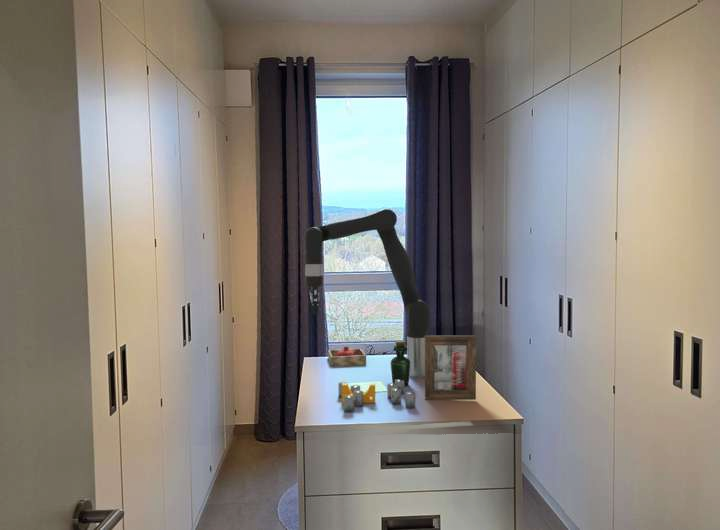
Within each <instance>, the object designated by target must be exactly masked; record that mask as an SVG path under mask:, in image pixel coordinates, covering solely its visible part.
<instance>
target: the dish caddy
mask: <svg viewBox="0 0 720 530" xmlns="http://www.w3.org/2000/svg"><path fill="white" fill-rule="evenodd" d="M340 350H341V349H328V350H327V351H328V352H327V354H328V355H327V356H328V357H327V359H328V361H329V363H330V366H331V367H341V366H344V365H347V366H365V365H364V364H366V365H367V355H366V353H365V352H364V351H363V349H362V348H350V350H354V351H355V353H356V356H337V353H338V352H339V351H340ZM342 350H344V348H343V349H342Z"/></svg>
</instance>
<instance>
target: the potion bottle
mask: <svg viewBox="0 0 720 530" xmlns="http://www.w3.org/2000/svg"><path fill="white" fill-rule="evenodd" d="M405 343H406V341H405V340H400V339H399V340H395V346H394V347H393V348H392V349H393V351H395V354H396V356H395V357H393V358H392V359H391V360H390V370H391V380H392V382H391V383H395V380H396V379H403V380H404V388H405V387H407V386H409V383H410V376H409V372H410V360H409V359H408V358H407V356H405V352H407V345H406V346H405Z"/></svg>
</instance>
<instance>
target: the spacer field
mask: <svg viewBox="0 0 720 530" xmlns="http://www.w3.org/2000/svg"><path fill="white" fill-rule="evenodd" d="M343 383H348V382H346V381H341V382H338V384H337V385H338V389H337V390H338V391H337V392H338V398H341V399H342V384H343ZM386 389H387V391H386V393H387V395H386V396H387V397H386V398H387V399H389V400H391V402H390V403H391V404H392V405H393V406H395V405H396V406H398V405H401V404H402V395H404V396H405V397H404V401H405V403H404V407H405V408H407V409H409V410H410V409H411V410H412V409H416V392H414V391H406V392H405V387H404V380H403V379H396V380H395V383H393V382H389V383H387V386H386ZM351 391H352V392H353V396H352V395H346V396H344V404H343V412H344V413H353V412H355V408H362V407H364V403H363V391H360V386H359V385H352V386H351Z"/></svg>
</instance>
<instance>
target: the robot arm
mask: <svg viewBox="0 0 720 530" xmlns="http://www.w3.org/2000/svg"><path fill="white" fill-rule="evenodd" d="M397 219H398V217H397V214H396V213H395V211H393V210H392V209H389V208H382V209H379V210H377V211H376V212H375V213H373V214H369V215H366V216H361V217H357V218H350V219H345V220H339V221H335V222H332V223H328V224H325V225H319V226H313V227H308V228H307V229H306V231H305V233H304V239H305V249H306V250H305V268H304V273H305V274H304V275H305V276H304V278H305V279H304V280H305V281H304V284H305V286H306V287H309V288H310V289H309V297H310V298H309V299H310V303H311V312H312V315H319V304H320V289H318V288H319V287H322V286H324V266H323V253H322V251H323V242H327V241H332V240H338V239H344V238H346V237H350V236H354V235H357V234H358V235H359V234H362V233H364V232H369V231H376V233H377V234H378V235H379V239H380V241H381V242H382V245H383V249H384V252H385V256H386V259H387V262H388V266H389V268H390V271H391V274H392V276H393V279H394V282H395V283H396V285H397V287H398V289H399V292H400V295H401V299H402V303H403V308H404V311H405V314H406V316H407V317H408V327H407V330H406V347H407V350H406V358H408V359H409V360H410V372H409V377H412V378H425V336H429V331H430V324H431V323H430V321H431V319H430V316H431V315H430V314H431V313H430V307H429V305H428V304H427V303H426V302H425V301H423V300H422V298H421V297H420V294H419V293H418V290H417V287H416V283H415V281H416V280H415V273H414V268H413V265H412V262H411V259H410V257H409V254H408V252H407V250H406V249H405V247H404V245H403V243H401V242H402V241H400V239H399V237H398V234H397V230H396V227H395V226H396V224H397V221H398V220H397Z"/></svg>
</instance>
